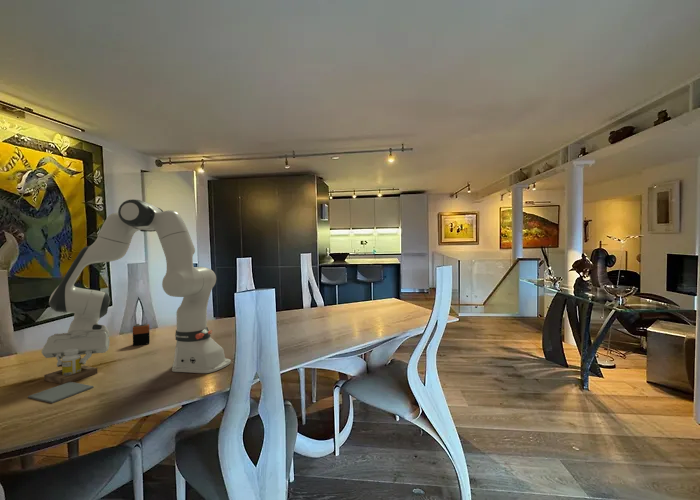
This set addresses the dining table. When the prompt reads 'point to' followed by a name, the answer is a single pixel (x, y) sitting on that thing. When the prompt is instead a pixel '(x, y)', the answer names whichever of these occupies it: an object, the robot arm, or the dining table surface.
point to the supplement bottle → (71, 362)
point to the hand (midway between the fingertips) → (70, 364)
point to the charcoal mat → (60, 392)
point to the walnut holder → (63, 379)
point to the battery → (141, 334)
